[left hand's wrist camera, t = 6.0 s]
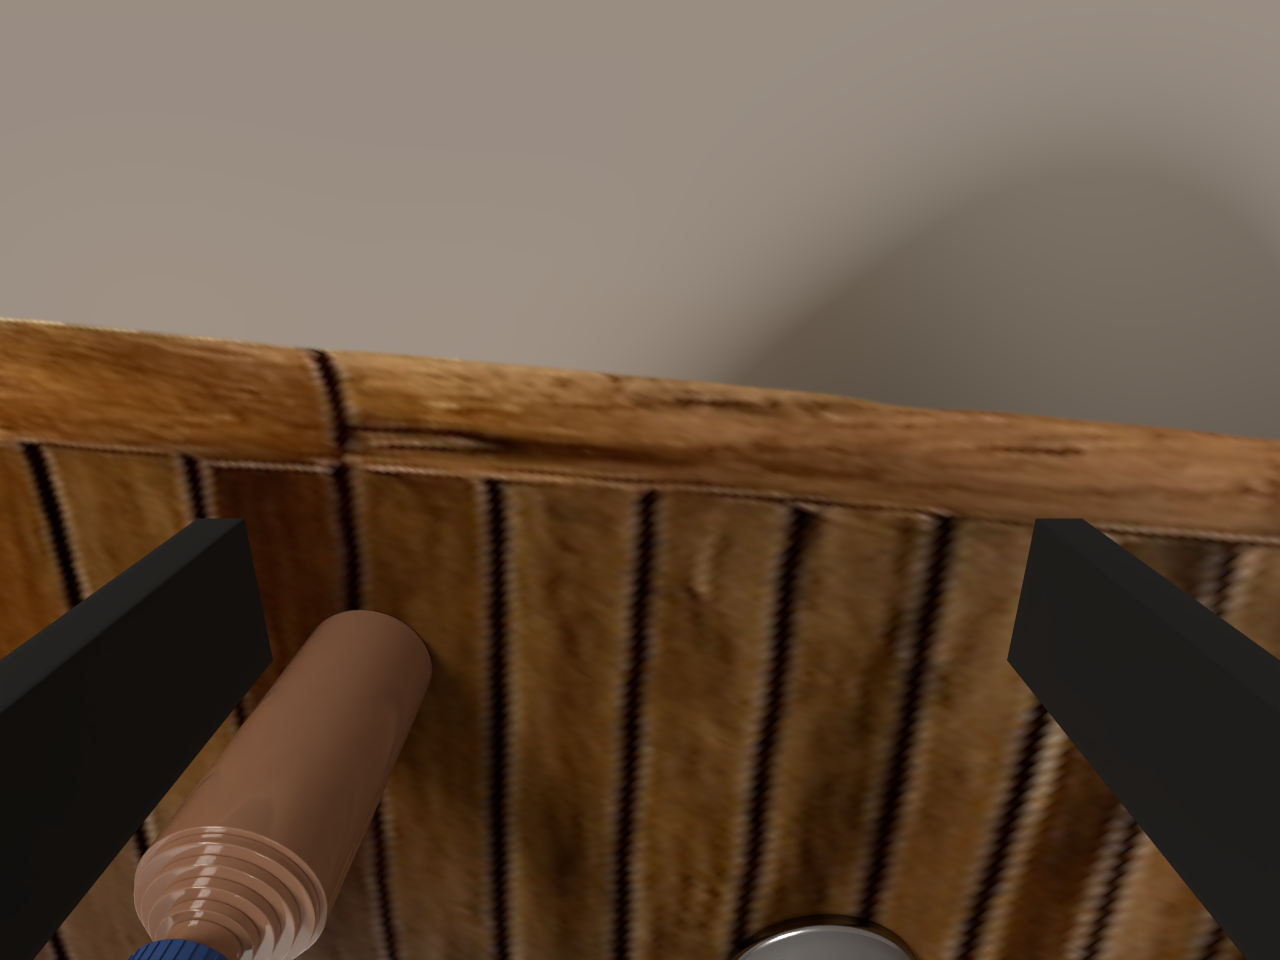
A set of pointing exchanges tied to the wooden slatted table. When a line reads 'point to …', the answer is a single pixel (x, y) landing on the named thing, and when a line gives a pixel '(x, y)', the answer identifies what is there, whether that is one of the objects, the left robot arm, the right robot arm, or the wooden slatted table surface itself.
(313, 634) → the bottle
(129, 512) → the wooden slatted table surface
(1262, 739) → the left robot arm
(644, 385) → the wooden slatted table surface
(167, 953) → the cap
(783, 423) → the wooden slatted table surface
